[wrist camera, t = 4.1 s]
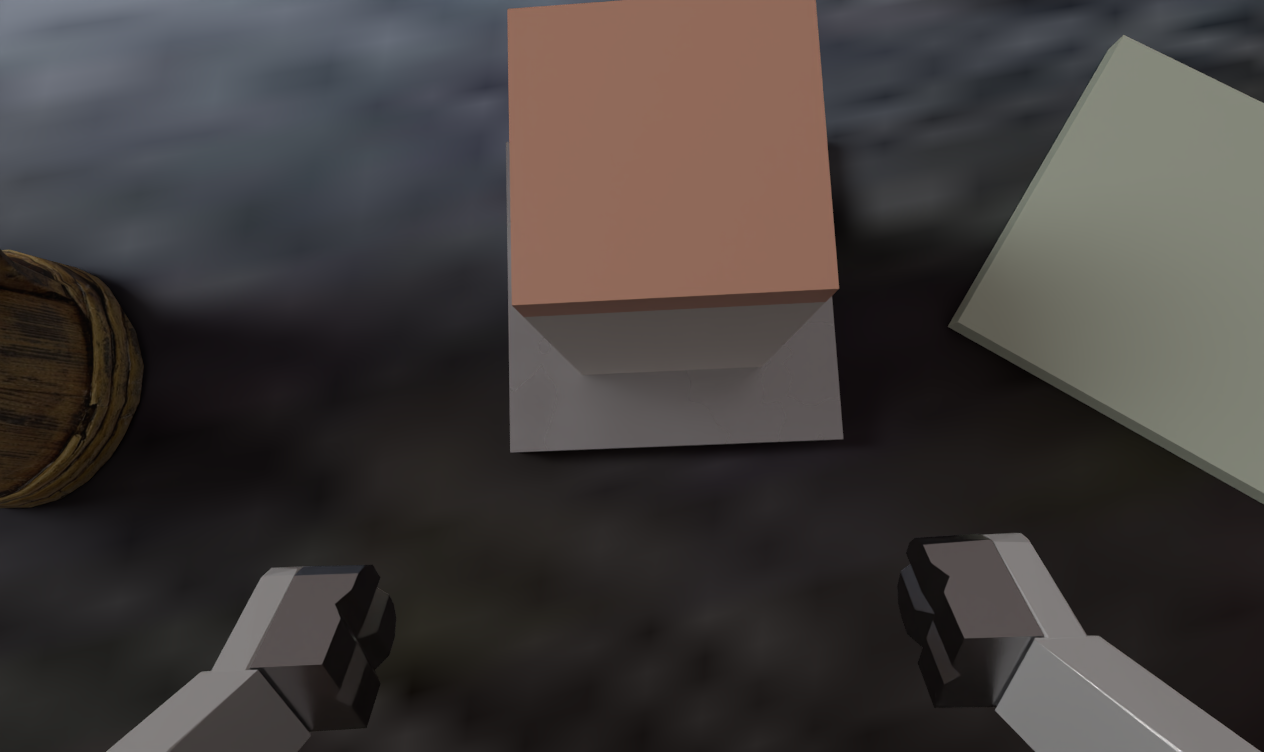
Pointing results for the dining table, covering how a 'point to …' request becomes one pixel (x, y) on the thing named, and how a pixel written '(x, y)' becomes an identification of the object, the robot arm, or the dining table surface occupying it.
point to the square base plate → (671, 394)
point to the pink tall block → (668, 180)
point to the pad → (1143, 264)
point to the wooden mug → (60, 378)
